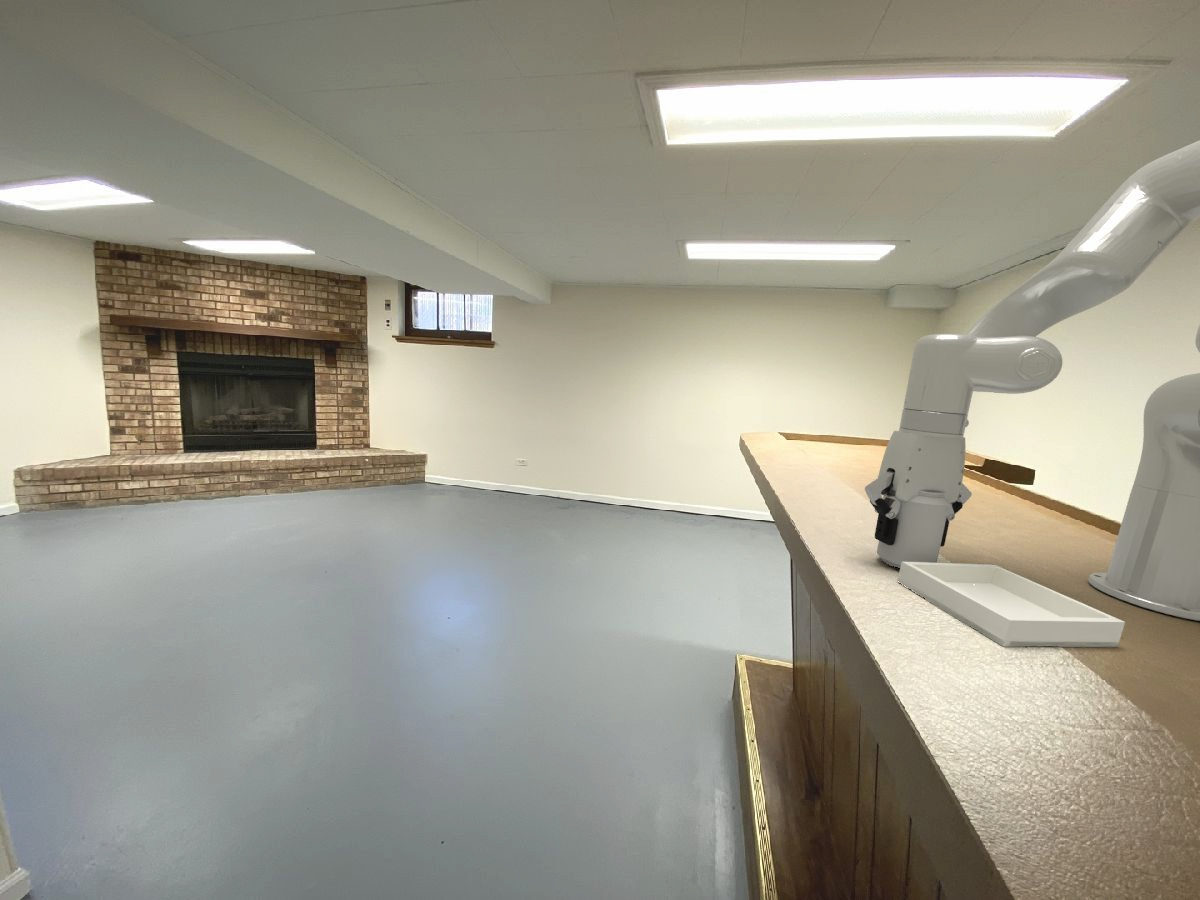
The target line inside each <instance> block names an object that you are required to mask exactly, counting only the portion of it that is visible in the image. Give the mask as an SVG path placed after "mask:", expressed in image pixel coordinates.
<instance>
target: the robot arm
mask: <svg viewBox="0 0 1200 900" xmlns="http://www.w3.org/2000/svg"><path fill="white" fill-rule="evenodd" d="M1198 219H1200V139H1199V140H1198V141H1197V140H1196V141H1195V142H1192V143H1190V144H1188V145H1185V146H1183V147H1181V148H1179V149H1177V150H1175V151H1172V152H1169V153H1167V154H1165V155H1162V156H1160V157H1159V158H1156V159H1154V160H1152V161H1150V162H1149V163H1146V164H1144V165H1143V166H1141V168H1139V169H1137V170H1136V171H1135V172H1133V174H1131V175H1130V176H1129V177H1128V178H1126V179H1125V181H1124V182H1123V183H1122V184H1121V185H1120V186H1119V187H1118V188H1117V189H1116V190H1115V191H1114V193H1112V194H1111V196H1110V197H1109V198H1108V199H1106V201H1105V203H1104V204H1103V205H1102V206H1101V207H1100V208H1099V209H1098V210H1096V212H1095V214H1094V215H1093V216H1092V217H1091V218H1090V219H1089V221H1087V223H1086V224H1085V225H1084V226H1083V227H1082V228H1081V229H1080V230H1079V231H1078V233H1077V234H1076V235H1075V236H1074V237H1073V238H1072V239H1071V240H1070V241H1069V242H1068V244H1067V245H1066V246H1065V247H1064V248H1063V250H1061V251H1060V252H1059V253H1058V254H1057V255H1056V256H1055V258H1054V259H1053V260H1051V261H1050V262H1049V263H1048V264H1047V265H1045V266H1044V267H1042V268H1041V269H1040V270H1039V271H1037V272H1035V273H1034V274H1033V275H1032V276H1031V277H1029V278H1028V279H1027V280H1026V281H1024V282H1022V283H1021V285H1019V286H1017V288H1016V289H1014V290H1012V292H1010V293H1009V294H1007V295H1006V296H1005V297H1004V298H1002V299H1001V300H999V302H997V303H996V304H995V305H994V306H992V307H991V308H990V309H989V310H988V311H986V313H985V314H984V315H982V316H981V318H980V319H978V321H976V323H975V324H974V325H973V326H972V327H971V329H970V330H969V331H968V332H967V333H966V334H963V333H962V334H959V333H958V334H957V333H934V334H928V335H924V336H921V337H920V338H919V339H918V340H917V341H916V342H915V345H914V349H913V354H912V358H911V364H910V371H909V373H908V374H909V375H908V381H907V386H906V392H905V396H904V397H905V398H904V403H903V408H902V413H901V418H900V423H899V424H900V425H899V428H898V430H893V432H892V434H891V436H890V438H889V440H888V443H887V444H886V448H885V451H884V454H883V458H882V460H881V464H880V467H879V472H878V475H877V478H876V479H874V480H873V481H872V482H870V483H868V484H867V485H866V486H864V491H865V493H866V495H867V497H868V499H869V502H870V504H871V505H872V507H873V509H874V512H875V513H877V514H878V515H877V519H876V525H875V526H876V527H875V533H874V539H876V540H877V541H878V542H879V541H881V542H883V543H885V544H887V545H893V544H894V542H895V537H896V532H897V526H898V519H896V518H894V517H895V516H896V515H897V514H898V512H899V511H900V510H901V508H902V504H903V503H905V502H909V501H910V500H911V499H912V498H914V497H916V496H918V495H919V493H918V491H924V492H934V493H941V492H946V494H944V497H945V499H946V500H947V501H948V502H949V508H948V512H947V517H946V522H945V527H944V531H943V536H942V541H941V546H940V548H941V547H944V546H945V545H946V540H947V539H946V538H947V535H948V530H949V526H950V522H951V521H953V520H955V518H956V516H955V515H956V514H957V513H958V512H959V511H960V510H962V509H963V506H964V505H965V503H967V502H968V501H969V500H970V498H971V497H972V492H971V490H969V488H968V487H967V486H966V485H965V484H964V483H963V479H964V472H965V465H966V464H965V463H966V437H964V435H965V431H966V428H967V427H968V426H969V423H970V422H969V419H968V417H969V415H968V414H969V410H970V407H971V402H972V398H973V393H974V392H976V393H980V392H982V393H997V394H1007V395H1008V394H1010V395H1012V394H1013V395H1015V394H1027V393H1032V392H1034V391H1038V390H1040V389H1042V388H1043V389H1044V388H1045V387H1046V386H1048V385H1050V384H1051V383H1052V382H1053V381H1055V379H1056V378H1057V377H1058V376H1059V375H1060V372H1061V371H1062V367H1063V356H1062V353H1061V351H1060V350H1059V348H1058V347H1057V346H1056V345H1055V344H1053V343H1052V342H1051V341H1048V340H1047V339H1045V338H1042V337H1038V336H1039V335H1041V334H1042V333H1043V332H1044V331H1046V330H1048V329H1049V328H1051V327H1053V326H1054V325H1056V324H1058V323H1060V322H1062V321H1064V320H1066V319H1067V320H1068V318H1071V317H1073V316H1076V315H1078V314H1081V313H1083V312H1085V311H1089V310H1091V309H1092V308H1094V307H1096V306H1099V305H1101V304H1103V303H1105V302H1107V301H1109V300H1111V299H1112V298H1115V297H1116V296H1118V295H1119V294H1121V293H1123V292H1124V291H1126V290H1128V288H1129V287H1131V286H1132V284H1134V283H1135V282H1136V280H1138V278H1139V277H1140V276H1141V275H1143V273H1144V272H1145V271H1146V270H1147V269H1148V268H1149V267H1150V266H1151V265H1152V264H1153V263H1154V261H1156V260H1157V258H1158V257H1160V255H1161V254H1163V252H1164V251H1165V250H1166V249H1167V248H1168V247H1170V245H1171V244H1172V242H1174V240H1175V239H1176V238H1177V237H1179V235H1180V234H1182V233H1183V232H1184V230H1185V229H1186V228H1187V227H1188V226H1190V225H1191V224H1192V223H1193V222H1195V221H1196V220H1198ZM1195 347H1196V348H1197V351H1198V352H1199V353H1200V324H1199V326H1198V327H1197V332H1196V337H1195ZM1144 406H1145V407H1144V410H1143V439H1142V440H1143V442H1142V450H1141V455H1140V460H1139V464H1138V467H1137V471H1136V474H1135V477H1134V478H1135V479H1134V481H1133V484H1132V487H1131V490H1130V494H1129V497H1128V501H1127V504H1126V507H1125V509H1124V510H1125V511H1124V514H1123V517H1122V520H1121V524H1120V528H1119V531H1118V534H1117V538H1116V542H1115V545H1114V548H1113V550H1112V551H1113V552H1112V555H1111V559H1110V562H1109V565H1108V567H1107V572H1100V571H1099V572H1092V573H1090V574H1089V576H1088V583H1089V584H1090V585H1091V586H1092V587H1094V588H1095V589H1097V590H1098V591H1101V592H1103V593H1105V594H1107V595H1109V596H1112V597H1113V598H1116V599H1119V600H1121V601H1125V602H1126V603H1129V604H1133V605H1135V606H1138V607H1142V608H1143V609H1148V610H1151V611H1154V612H1158V613H1161V614H1162V613H1163V614H1165V615H1170V616H1173V617H1178V618H1182V619H1186V620H1192V621H1198V622H1200V372H1198V373H1193V374H1192V373H1191V374H1186V375H1182V376H1178V377H1176V378H1173V379H1170V380H1168V381H1166V382H1165V383H1163V384H1161V385H1160V386H1158V387H1157V388H1156V389H1155V390H1154V391H1153V392H1152V393H1151V394H1150V395H1149V397H1148V399H1147V400H1146V403H1145V405H1144ZM893 492H896V493H895V496H894V495H891V494H892V493H893ZM890 500H893V501H894V502H893V504H892V505H891V506H890V507H889V501H890Z"/></svg>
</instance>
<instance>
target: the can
mask: <svg viewBox="0 0 1200 900" xmlns="http://www.w3.org/2000/svg"><path fill="white" fill-rule="evenodd" d="M895 493H896V492H893V493H892V494H891V495H894V496H895ZM918 493H919V495H918V496H916V497H914V498H912V499H911V500H910V501H909V502H905V503H903V504H902V508H901V510H900V511H899V512H898V514H897V515H896V516H895V517H894V518H896V519H898V526H897V532H896V537H895V542H894V544H893V545H887V544H885V543H883V542H881V541H879V540H878V544H877V549H876V554H877V555H878V556H879V557H880V558H881V560H882V561H884V563H885V562H886V563H885V564H886V565H888V564H889V565H888V566H891V567H893V566H894V567H893V568H895V567H898V568H900V567H901V562H929V563H938V560H939V554H940V549H941V547H940V546H941V541H942V536H943V531H944V527H945V522H946V517H947V512H948V508H949V502H948V501H947V500H946V499H945V497H944V494H946V492H941V493H934V492H924V491H918ZM893 502H894V501H893V500H890V501H889V507H890V506H891V505H892V504H893ZM898 568H897V569H898Z"/></svg>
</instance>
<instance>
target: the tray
mask: <svg viewBox="0 0 1200 900" xmlns="http://www.w3.org/2000/svg"><path fill="white" fill-rule="evenodd" d="M897 581H899V582H900V583H902V584H903V585H905V586H906V587H908V588H909V589H911V590H913V591H914V592H916V593H917V594H918V595H917V594H916V593H915V594H916V595H917V596H919V595H920V596H919V597H921V596H922V597H924V598H925V599H924V598H923V599H924V600H926V601H927V602H929V603H931V604H932V605H934V606H935V607H937V608H938V609H940V610H942V611H944V612H946V613H947V614H949V615H950V616H952V617H954V618H955V619H957V620H958V621H960V622H961V623H963V624H965V625H967V626H968V625H969V626H968V627H970V626H971V627H970V628H972V629H973V628H974V629H973V630H975V629H976V630H975V631H977V630H978V631H979V632H978V631H977V632H978V633H980V634H981V633H982V635H984V636H985V637H986V638H988V639H990V640H991V641H992V642H993V641H994V642H995V643H997V644H998V645H1000V646H1001V647H1003V648H1004V647H1007V648H1008V647H1011V648H1013V647H1022V648H1023V647H1025V646H1058V647H1057V648H1059V647H1060V648H1118V647H1119V644H1120V640H1121V637H1122V633H1123V631H1124V627H1125V625H1126V621H1124V620H1122V619H1119V618H1117V617H1114V616H1113V615H1110V614H1108V613H1105V612H1103V611H1102V610H1099V609H1096V608H1095V607H1092V606H1090V605H1087V604H1085V603H1083V602H1081V601H1078V600H1076V599H1074V598H1072V597H1069V596H1067V595H1064V594H1062V593H1060V592H1058V591H1056V590H1053V589H1051V588H1049V587H1046V586H1044V585H1042V584H1039V583H1037V582H1035V581H1033V580H1031V579H1028V578H1026V577H1023V576H1022V575H1019V574H1017V573H1014V572H1012V571H1010V570H1008V569H1006V568H1003V567H1001V566H999V565H996V564H981V563H980V564H979V563H954V562H953V563H952V562H937V563H929V562H901V567H900V569H899V572H898V577H897ZM973 584H975V586H974V585H973ZM906 587H905V588H906ZM909 589H908V590H909ZM911 590H910V591H911ZM914 592H913V593H914ZM922 597H921V598H922Z"/></svg>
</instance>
